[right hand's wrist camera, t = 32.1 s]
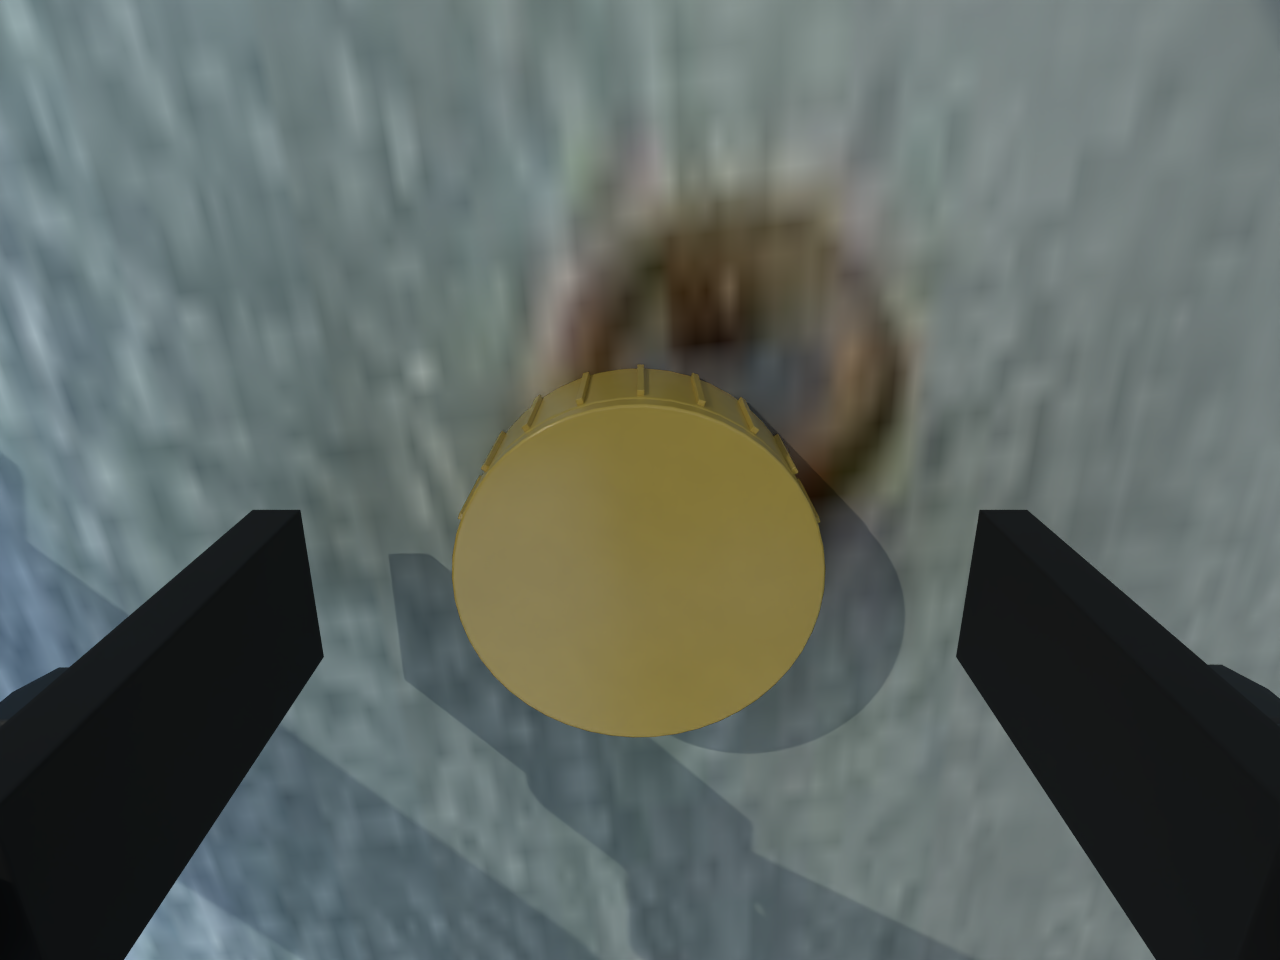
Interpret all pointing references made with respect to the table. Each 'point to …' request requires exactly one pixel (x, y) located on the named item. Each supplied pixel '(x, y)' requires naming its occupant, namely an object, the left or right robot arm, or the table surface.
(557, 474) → the lid
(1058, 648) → the right robot arm
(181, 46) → the table surface
